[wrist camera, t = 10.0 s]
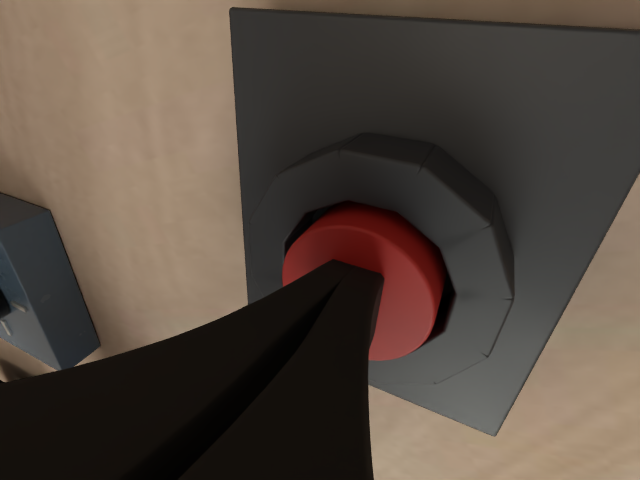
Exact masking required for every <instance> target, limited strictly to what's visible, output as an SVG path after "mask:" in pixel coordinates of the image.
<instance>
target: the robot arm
mask: <svg viewBox="0 0 640 480" xmlns="http://www.w3.org/2000/svg"><path fill="white" fill-rule="evenodd" d="M384 280H385V279H384V277H383V276H382V274H381V273H378V272H375V271H371V270H368V269H365V268H361V267H358V266H355V265H351V264H348V263H345V262H342V261H338V260H335V259H332V260H330V261H328V262H326V263H325V264H323V265H321V266H319V267H317V268H316V269H314V270H312V271H310V272H309V273H307V274H305V275H303V276H302V277H300V278H298V279H296V280H295V281H293V282H291V283H289V284H287V285H286V286H284V287H282V288H280V289H278V290H276V291H275V292H273V293H271V294H269V295H267V296H265V297H263V298H261V299H260V300H257V301H255V302H253V303H251V304H249V305H247V306H245V307H243V308H241V309H239V310H237V311H235V312H233V313H231V314H229V315H226V316H224V317H222V318H220V319H217V320H215V321H212V322H210V323H208V324H205V325H203V326H200V327H198V328H195V329H192V330H190V331H187V332H185V333H182V334H179V335H177V336H174V337H171V338H168V339H166V340H163V341H159V342H156V343H153V344H150V345H147V346H144V347H140V348H137V349H134V350H131V351H128V352H125V353H122V354H118V355H115V356H112V357H109V358H105V359H101V360H98V361H94V362H90V363H86V364H83V365H79V366H75V367H71V368H67V369H63V370H59V371H55V372H51V373H46V374H42V375H38V376H34V377H29V378H25V379H20V380H15V381H10V382H5V383H0V480H374V477H373V467H372V456H371V441H370V426H369V402H368V365H369V349H370V346H371V343H372V340H373V337H374V334H375V329H376V323H377V318H378V312H379V307H380V302H381V296H382V291H383V286H384Z"/></svg>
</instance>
